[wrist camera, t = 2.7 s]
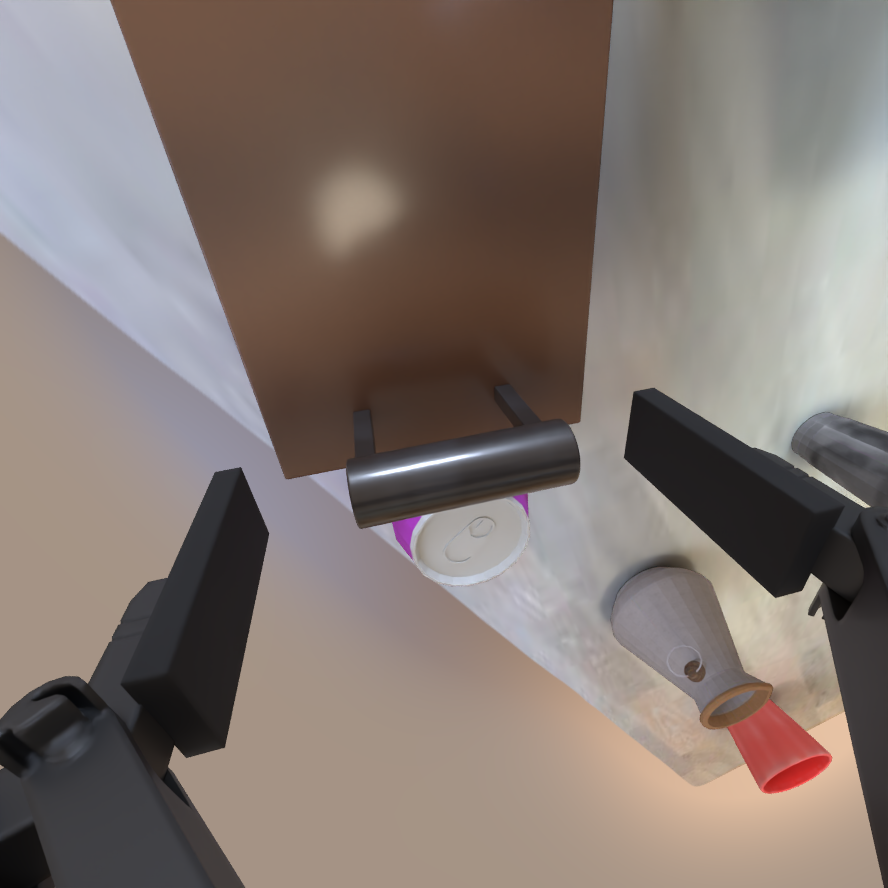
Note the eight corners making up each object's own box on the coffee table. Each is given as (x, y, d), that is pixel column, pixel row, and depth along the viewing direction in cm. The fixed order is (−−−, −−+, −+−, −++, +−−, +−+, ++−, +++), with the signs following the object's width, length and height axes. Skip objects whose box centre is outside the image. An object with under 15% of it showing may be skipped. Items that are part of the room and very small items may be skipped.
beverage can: (419, 362, 29) (461, 454, 19) (500, 416, 32) (573, 518, 22) (358, 446, 31) (366, 570, 21) (440, 488, 34) (481, 611, 24)
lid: (572, 414, 21) (665, 504, 15) (287, 469, 19) (262, 595, 13) (623, -344, 10) (1030, -1117, 4) (-12, -367, 8) (-869, -1720, 2)
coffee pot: (708, 584, 49) (834, 719, 37) (625, 638, 52) (717, 783, 39) (633, 483, 39) (774, 624, 26) (533, 556, 41) (618, 720, 28)
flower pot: (715, 703, 66) (768, 774, 58) (780, 679, 67) (841, 747, 59) (710, 733, 72) (757, 802, 64) (769, 711, 73) (823, 776, 64)
